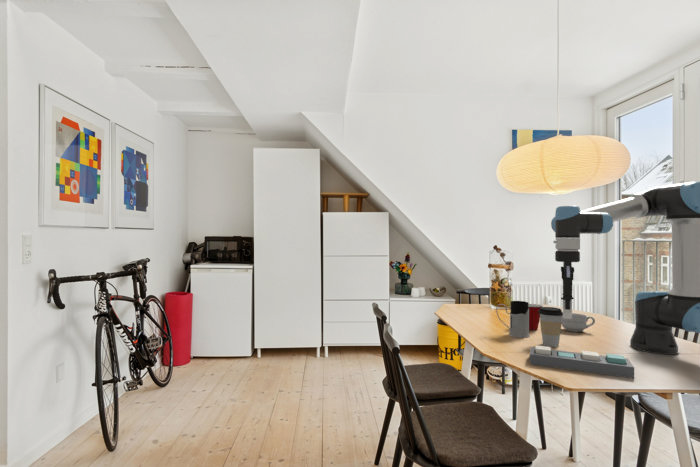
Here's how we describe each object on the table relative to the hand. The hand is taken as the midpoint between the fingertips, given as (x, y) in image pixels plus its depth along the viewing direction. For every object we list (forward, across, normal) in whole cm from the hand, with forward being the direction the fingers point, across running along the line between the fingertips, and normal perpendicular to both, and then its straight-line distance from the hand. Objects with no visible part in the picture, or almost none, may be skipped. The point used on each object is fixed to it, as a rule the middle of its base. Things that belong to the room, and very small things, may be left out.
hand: (567, 318), depth 137 cm
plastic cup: (+17, -54, -13) cm, 58 cm away
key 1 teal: (+14, 0, +14) cm, 20 cm away
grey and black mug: (+17, -37, -20) cm, 45 cm away
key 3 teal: (+15, 0, 0) cm, 15 cm away
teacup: (+17, -59, +7) cm, 62 cm away
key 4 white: (+14, 0, -8) cm, 16 cm away
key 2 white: (+14, 0, +7) cm, 15 cm away
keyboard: (+16, 0, +3) cm, 17 cm away
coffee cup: (+17, -26, -5) cm, 31 cm away
